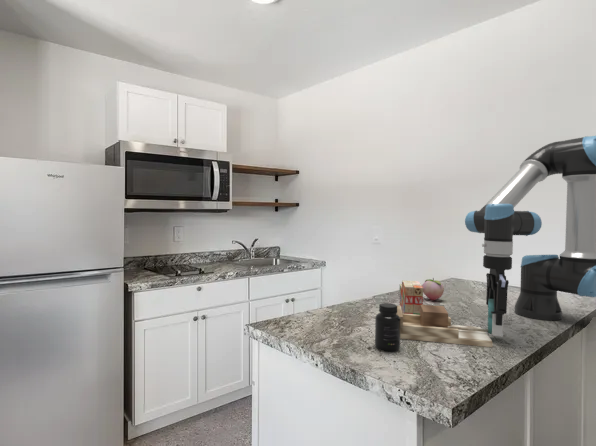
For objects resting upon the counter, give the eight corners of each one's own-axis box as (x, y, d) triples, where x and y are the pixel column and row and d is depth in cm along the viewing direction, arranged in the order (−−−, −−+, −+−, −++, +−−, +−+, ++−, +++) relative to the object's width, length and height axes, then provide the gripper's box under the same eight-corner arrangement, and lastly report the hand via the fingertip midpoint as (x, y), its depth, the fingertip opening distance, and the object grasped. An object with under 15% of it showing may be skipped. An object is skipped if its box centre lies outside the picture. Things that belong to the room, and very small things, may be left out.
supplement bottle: (371, 343, 104) (372, 302, 103) (394, 343, 104) (395, 301, 104) (379, 352, 97) (380, 308, 97) (403, 352, 97) (405, 308, 97)
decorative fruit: (448, 301, 158) (448, 278, 157) (436, 303, 153) (437, 280, 153) (429, 297, 165) (430, 275, 165) (418, 299, 161) (418, 276, 160)
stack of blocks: (399, 306, 148) (399, 276, 148) (415, 307, 147) (415, 277, 147) (403, 321, 127) (404, 286, 127) (422, 322, 126) (423, 287, 126)
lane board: (479, 331, 116) (480, 311, 116) (492, 347, 103) (493, 324, 102) (395, 324, 122) (396, 305, 122) (397, 338, 109) (397, 316, 108)
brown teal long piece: (497, 329, 113) (498, 297, 112) (507, 338, 104) (508, 304, 104) (420, 322, 118) (420, 292, 118) (422, 331, 109) (423, 298, 109)
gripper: (476, 252, 117) (474, 323, 118) (491, 257, 101) (489, 341, 101) (502, 253, 116) (500, 325, 116) (522, 259, 99) (519, 344, 100)
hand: (495, 332), depth 109 cm, fingers closed on brown teal long piece, 4 cm apart
